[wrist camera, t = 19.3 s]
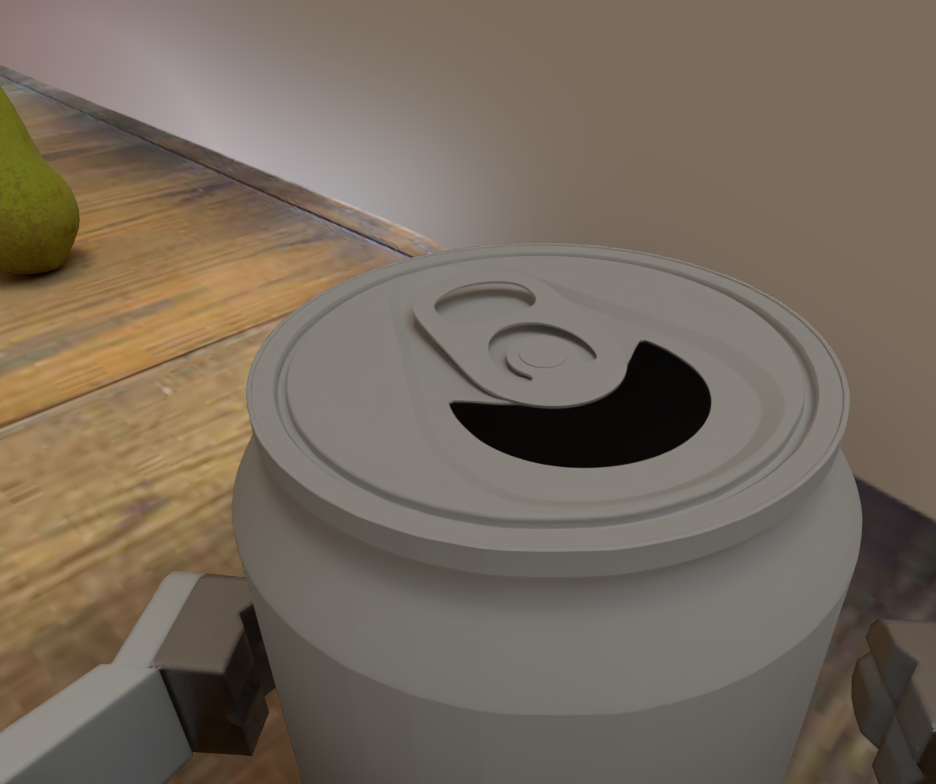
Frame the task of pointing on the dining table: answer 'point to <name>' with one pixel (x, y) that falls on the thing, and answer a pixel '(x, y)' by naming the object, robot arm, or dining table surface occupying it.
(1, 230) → the fruit
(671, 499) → the beverage can
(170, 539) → the dining table surface
